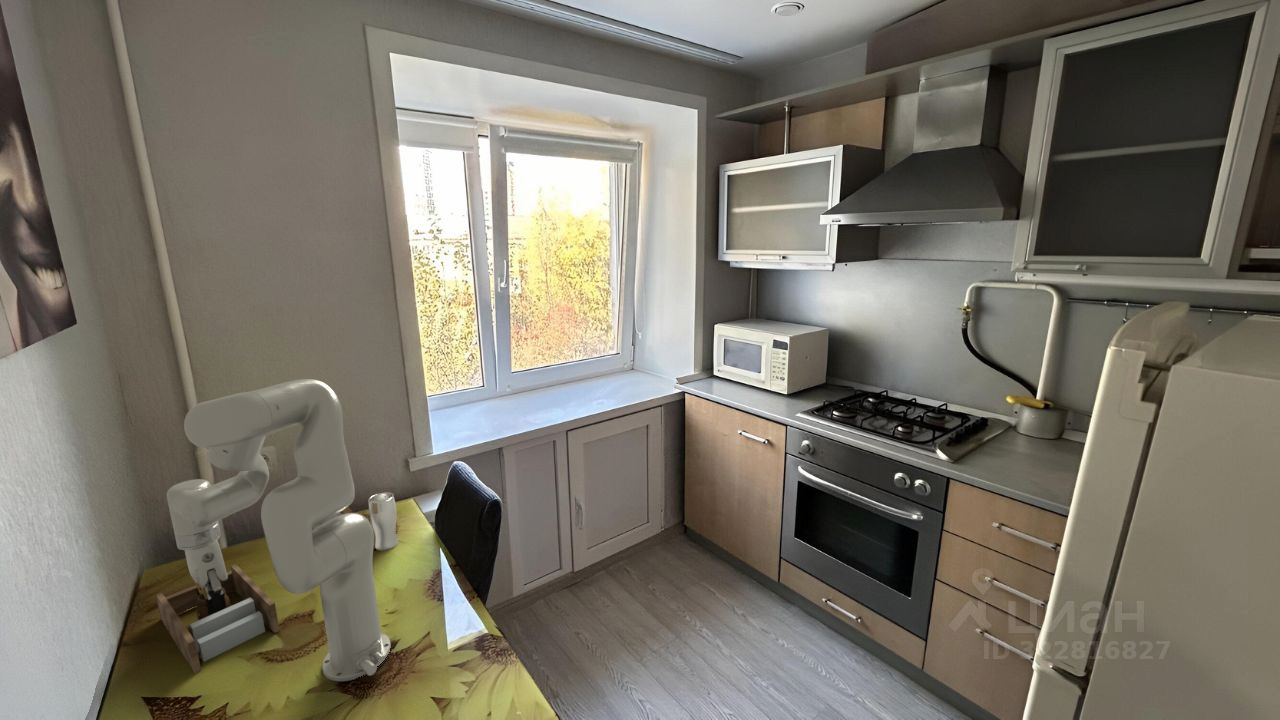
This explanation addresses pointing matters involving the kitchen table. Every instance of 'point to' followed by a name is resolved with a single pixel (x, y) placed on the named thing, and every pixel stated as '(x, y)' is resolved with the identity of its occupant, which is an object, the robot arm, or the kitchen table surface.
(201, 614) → the utensil holder
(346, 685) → the kitchen table surface
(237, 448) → the robot arm
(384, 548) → the beer glass
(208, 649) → the offcut front
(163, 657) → the kitchen table surface
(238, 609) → the offcut near
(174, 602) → the rack
